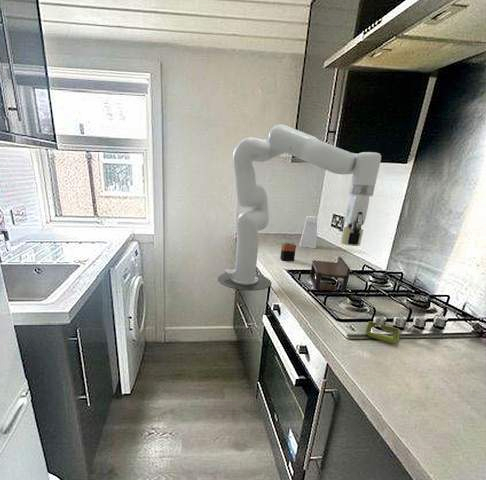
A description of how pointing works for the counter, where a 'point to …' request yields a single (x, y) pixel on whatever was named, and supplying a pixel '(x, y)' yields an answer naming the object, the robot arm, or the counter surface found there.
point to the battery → (288, 251)
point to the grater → (309, 235)
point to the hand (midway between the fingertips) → (350, 241)
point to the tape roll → (346, 236)
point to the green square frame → (383, 337)
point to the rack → (329, 274)
